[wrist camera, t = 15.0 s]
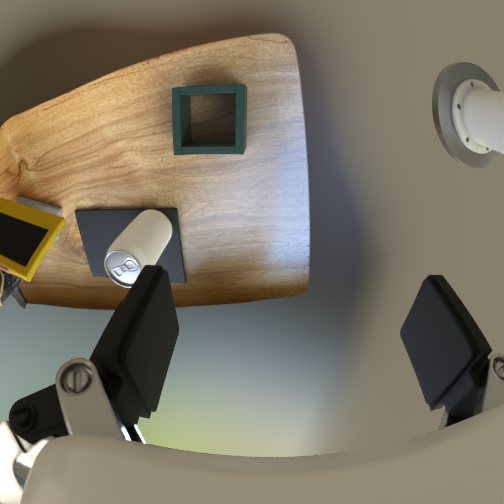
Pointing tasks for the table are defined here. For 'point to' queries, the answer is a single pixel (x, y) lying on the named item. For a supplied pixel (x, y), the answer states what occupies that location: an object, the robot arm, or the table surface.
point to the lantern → (8, 284)
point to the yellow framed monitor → (27, 234)
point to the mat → (112, 225)
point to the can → (137, 247)
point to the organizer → (183, 121)
